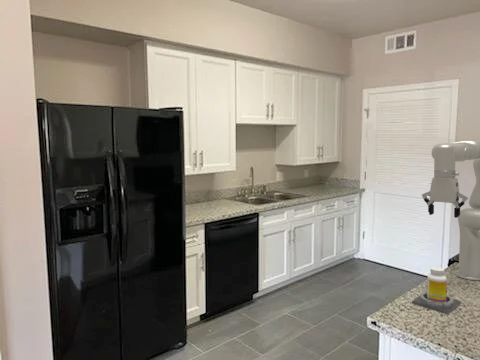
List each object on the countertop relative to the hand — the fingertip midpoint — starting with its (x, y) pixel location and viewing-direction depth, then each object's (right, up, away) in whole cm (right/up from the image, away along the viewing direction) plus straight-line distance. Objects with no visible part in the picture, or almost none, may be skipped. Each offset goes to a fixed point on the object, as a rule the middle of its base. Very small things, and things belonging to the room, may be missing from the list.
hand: (443, 215), depth 152 cm
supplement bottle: (-8, -32, -10) cm, 35 cm away
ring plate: (-9, -33, -10) cm, 36 cm away
